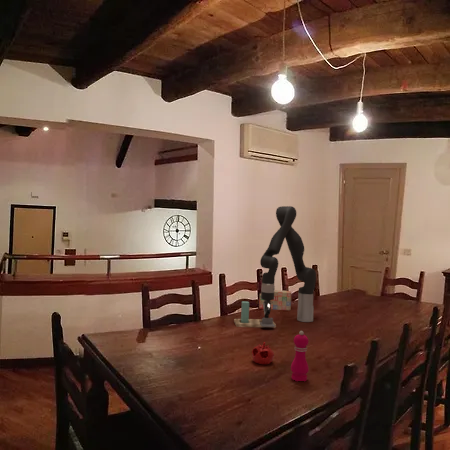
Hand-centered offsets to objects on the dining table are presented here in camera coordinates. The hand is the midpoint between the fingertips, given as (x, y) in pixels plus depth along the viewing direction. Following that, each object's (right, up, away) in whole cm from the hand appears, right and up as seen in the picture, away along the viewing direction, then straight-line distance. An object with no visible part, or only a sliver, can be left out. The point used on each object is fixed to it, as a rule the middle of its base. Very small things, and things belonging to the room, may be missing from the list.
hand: (266, 320), depth 258 cm
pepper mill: (+7, -8, -74) cm, 75 cm away
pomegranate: (-7, -7, -56) cm, 57 cm away
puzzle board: (-6, -4, +5) cm, 9 cm away
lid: (0, -2, -2) cm, 3 cm away
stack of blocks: (+10, -3, +51) cm, 52 cm away
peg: (-12, -3, +5) cm, 14 cm away
